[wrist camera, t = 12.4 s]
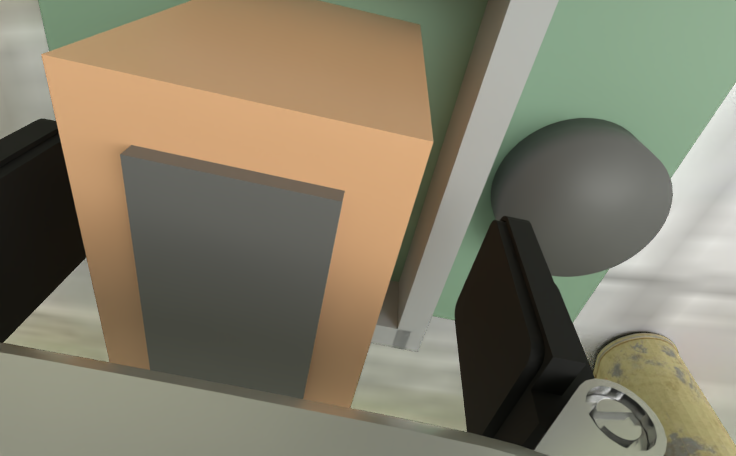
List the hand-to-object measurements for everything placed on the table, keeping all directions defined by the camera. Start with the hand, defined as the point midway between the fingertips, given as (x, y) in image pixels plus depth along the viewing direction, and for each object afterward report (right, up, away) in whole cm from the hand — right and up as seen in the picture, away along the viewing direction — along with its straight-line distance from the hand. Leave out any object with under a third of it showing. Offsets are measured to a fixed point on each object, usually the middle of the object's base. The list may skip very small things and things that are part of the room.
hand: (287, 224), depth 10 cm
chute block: (0, +3, +4) cm, 5 cm away
